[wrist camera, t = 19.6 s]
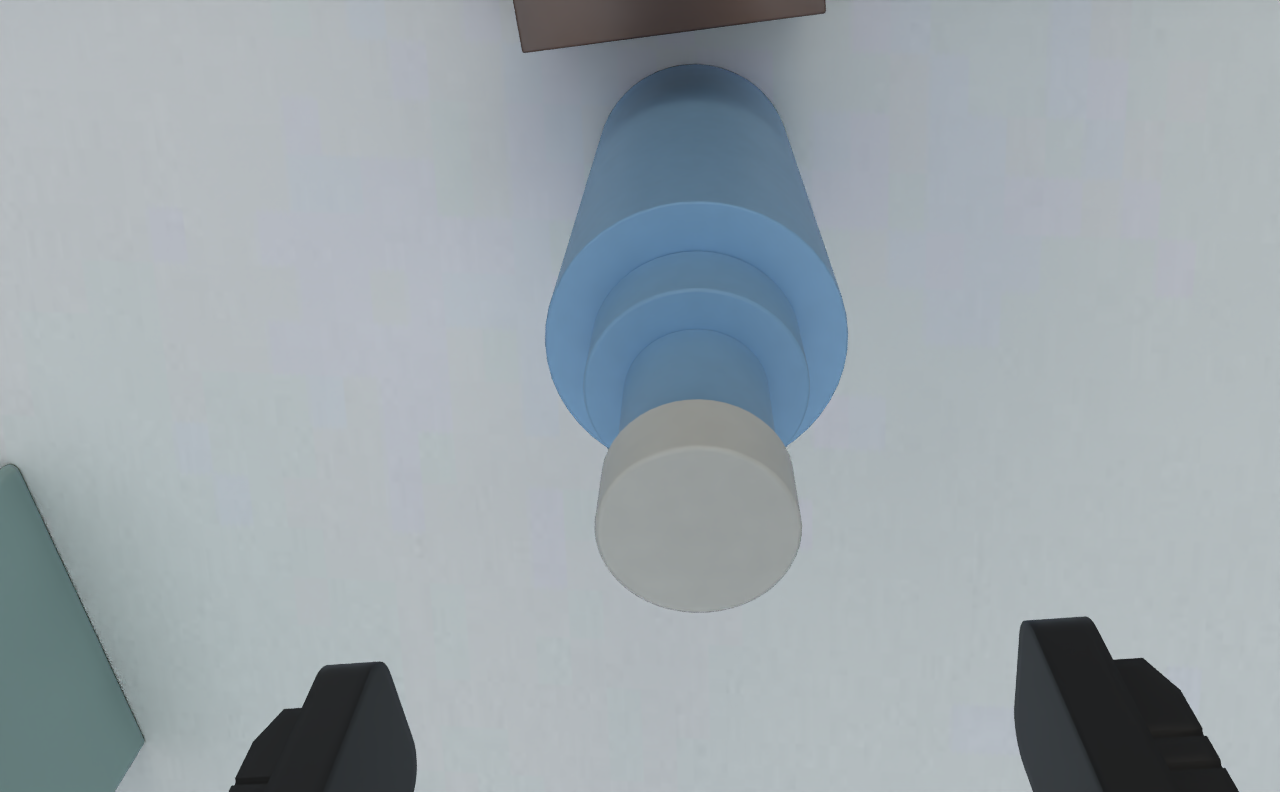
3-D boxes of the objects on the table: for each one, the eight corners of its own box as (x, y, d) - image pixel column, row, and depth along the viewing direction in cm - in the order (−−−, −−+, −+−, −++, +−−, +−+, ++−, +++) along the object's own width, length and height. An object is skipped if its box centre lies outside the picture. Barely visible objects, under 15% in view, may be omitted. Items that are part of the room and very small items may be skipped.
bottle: (605, 148, 36) (463, -320, 19) (780, 127, 36) (794, -377, 19) (634, 649, 31) (476, 618, 14) (839, 635, 31) (931, 585, 14)
